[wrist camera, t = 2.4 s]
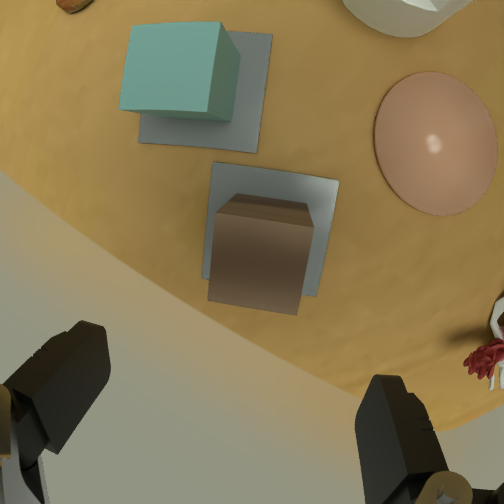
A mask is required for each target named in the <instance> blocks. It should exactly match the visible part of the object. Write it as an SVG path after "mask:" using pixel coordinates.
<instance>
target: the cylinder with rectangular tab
mask: <svg viewBox="0 0 504 504" xmlns="http://www.w3.org/2000/svg"><path fill="white" fill-rule="evenodd" d="M472 1H474V0H342V2H343V3H344V5H345V6H346V8H347V9H348V10H349V11H350V12H351V13H352V14H353V15H354V16H355V17H356V18H358V19H359V20H361V21H362V22H363V23H365V24H366V25H367V26H369V27H371V28H373V29H375V30H377V31H379V32H381V33H384V34H388V35H391V36H395V37H404V38H413V37H418V36H423V35H425V34H427V33H428V32H430V31H432V30H433V29H435V28H436V27H437V26H439V25H440V24H441V23H443V22H444V21H446V20H447V19H448V18H450V17H451V16H452V15H454V14H455V13H457V12H458V11H459V10H461V9H462V8H464V7H465V6H467V5H468V4H469V3H471V2H472Z"/></svg>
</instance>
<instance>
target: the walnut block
mask: <svg viewBox="0 0 504 504" xmlns="http://www.w3.org/2000/svg"><path fill="white" fill-rule="evenodd" d="M313 232H314V225H313V222H312V219H311V215H310V212H309V209H308V206H307V204H306V203H300V202H294V201H287V200H281V199H274V198H268V197H261V196H254V195H247V194H240V193H236V194H235V195H234V196H233V197H232V198H231V199H230V200H229V201H228V202H227V203H225V204H224V205H223V206H222V207H221V208H220V209H219V210H218V211H217V212H216V213H215V221H214V231H213V242H212V253H211V264H210V276H209V288H208V301H212V302H217V303H223V304H229V305H234V306H240V307H246V308H252V309H258V310H265V311H271V312H277V313H284V314H290V315H297V312H298V307H299V303H300V298H301V293H302V288H303V283H304V279H305V274H306V269H307V264H308V259H309V253H310V248H311V243H312V238H313Z"/></svg>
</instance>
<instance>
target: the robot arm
mask: <svg viewBox="0 0 504 504" xmlns="http://www.w3.org/2000/svg"><path fill="white" fill-rule="evenodd" d="M110 372H111V364H110V357H109V351H108V343H107V335H106V330H105V328H104V327H103V326H100V325H97V324H93V323H90V322H86V321H83V320H81V321H79V322H78V323H77V324H76V325H74V326H73V327H72V328H71V329H70V330H69V331H68V332H66V331H64V332H62V333H60V334H58V335H56V336H54V337H52V338H50V339H49V340H48V341H47V342H46V343H45V344H44V345H43V346H42V347H41V349H38V351H36V352H35V353H34V354H33V357H30V358H29V359H28V360H27V361H26V362H25V363H24V364H23V365H22V366H21V367H20V368H19V369H18V370H16V371H15V372H14V374H12V375H11V376H10V377H9V378H8V379H7V380H6V382H4V383H3V384H0V504H50V501H49V496H48V491H47V487H46V481H45V475H44V468H43V462H42V457H41V455H40V454H41V453H42V451H43V450H44V448H45V449H47V450H49V451H51V452H53V453H55V454H59V452H60V450H61V449H62V448H63V446H64V445H65V443H66V441H67V440H68V439H69V437H70V436H71V434H72V433H73V431H74V430H75V428H76V427H77V425H78V424H79V422H80V421H81V420H82V418H83V417H84V415H85V414H86V412H87V411H88V409H89V408H90V407H91V405H92V404H93V402H94V401H95V399H96V398H97V396H98V395H99V394H100V392H101V391H102V389H103V388H104V386H105V385H106V384H107V382H108V380H109V376H110ZM355 433H356V439H357V445H358V452H359V459H360V465H361V472H362V479H363V486H364V495H365V502H366V504H504V483H503V484H502V485H501V486H500V487H499V488H498V489H496V490H483V489H473V488H471V486H470V484H469V483H468V481H467V480H466V479H465V478H464V477H463V476H461V475H459V474H457V473H455V472H451V471H449V469H448V467H447V463H446V461H445V458H444V455H443V452H442V450H441V447H440V444H439V442H438V439H437V436H436V434H435V431H433V426H432V423H431V421H430V420H429V416H428V413H427V411H426V409H425V406H424V404H423V403H422V402H421V401H420V400H419V399H418V398H417V397H416V395H415V394H414V393H407V390H406V388H405V385H404V383H403V380H402V378H401V377H400V376H395V375H378V374H376V375H374V376H373V378H372V380H371V382H370V384H369V387H368V389H367V391H366V393H365V396H364V398H363V400H362V402H361V404H360V407H359V409H358V411H357V414H356V419H355Z"/></svg>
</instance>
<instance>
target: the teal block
mask: <svg viewBox="0 0 504 504" xmlns="http://www.w3.org/2000/svg"><path fill="white" fill-rule="evenodd" d="M240 57H241V56H240V54H239V52H238V51H237V49H236V47H235V45H234V44H233V42H232V40H231V38H230V37H229V35H228V33H227V32H226V30H225V28H224V26H223V25H222V23H221V22H173V23H157V24H145V25H135V26H132V30H131V35H130V40H129V45H128V50H127V55H126V61H125V67H124V73H123V79H122V86H121V93H120V101H119V109H118V110H124V111H130V112H136V113H142V114H148V115H154V116H159V117H164V118H184V119H200V120H213V121H225V122H232V114H233V107H234V100H235V92H236V85H237V78H238V71H239V64H240Z"/></svg>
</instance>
